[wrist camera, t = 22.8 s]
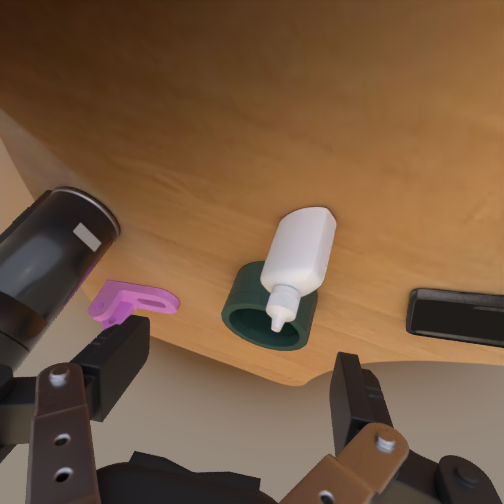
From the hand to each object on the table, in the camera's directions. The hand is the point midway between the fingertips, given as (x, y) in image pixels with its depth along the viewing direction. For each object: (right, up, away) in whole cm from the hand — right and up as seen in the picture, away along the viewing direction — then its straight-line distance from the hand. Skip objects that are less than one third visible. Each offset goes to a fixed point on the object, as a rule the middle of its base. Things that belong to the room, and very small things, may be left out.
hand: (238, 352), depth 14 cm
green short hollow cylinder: (+4, 0, +30) cm, 30 cm away
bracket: (-17, -3, +44) cm, 47 cm away
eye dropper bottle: (+6, +7, +19) cm, 21 cm away
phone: (+25, -2, +21) cm, 33 cm away
